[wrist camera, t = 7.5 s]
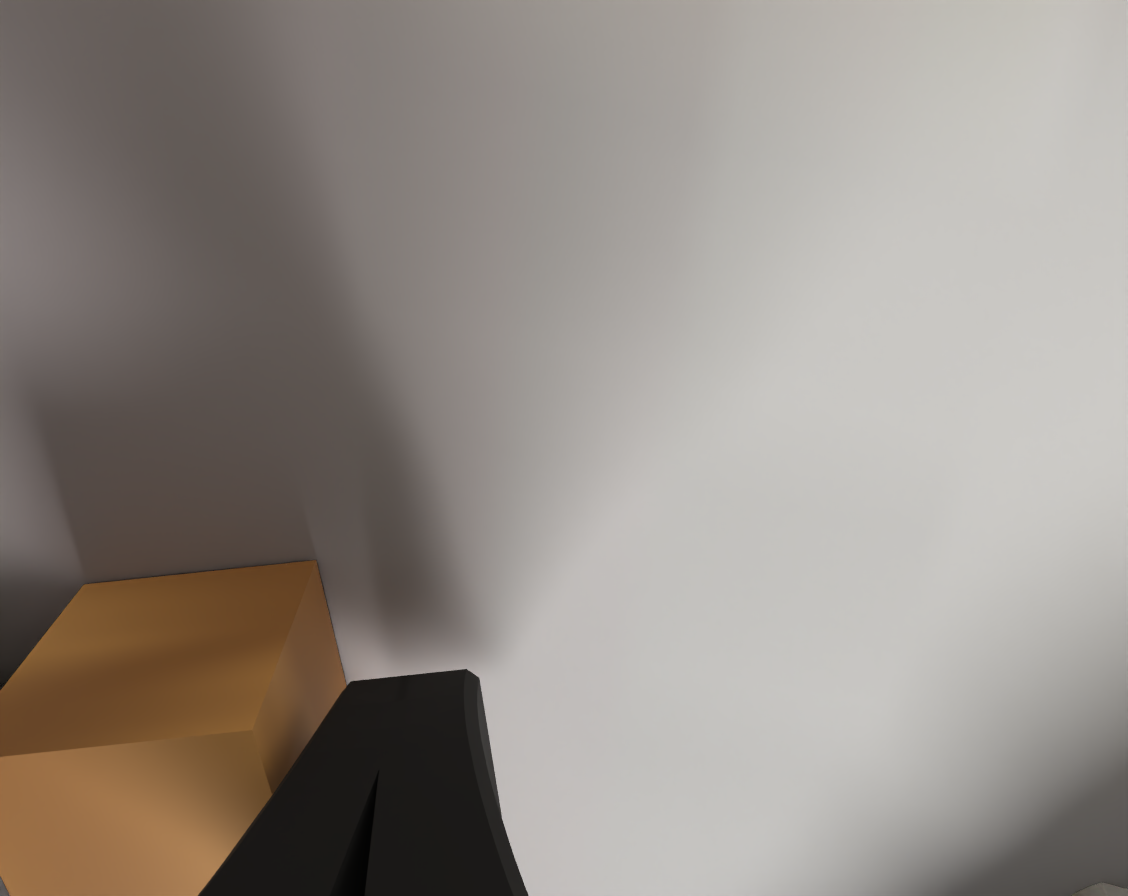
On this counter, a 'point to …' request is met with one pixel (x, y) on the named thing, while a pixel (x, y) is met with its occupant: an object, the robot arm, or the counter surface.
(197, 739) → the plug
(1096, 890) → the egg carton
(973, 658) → the counter surface
